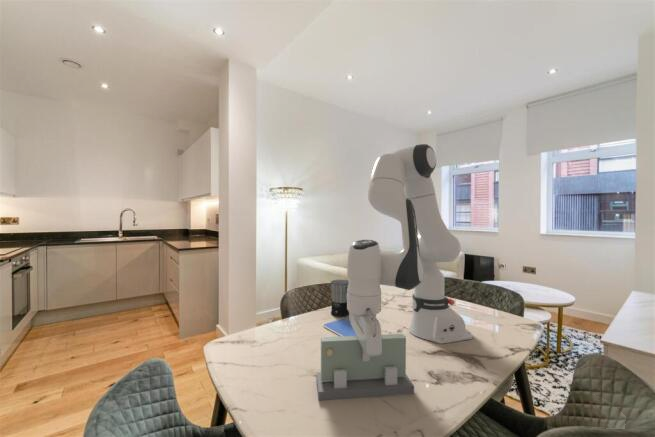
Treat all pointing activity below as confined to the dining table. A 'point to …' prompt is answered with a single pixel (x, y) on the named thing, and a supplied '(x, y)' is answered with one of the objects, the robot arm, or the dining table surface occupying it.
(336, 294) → the milk frother
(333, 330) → the tablet computer
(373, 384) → the hinge base
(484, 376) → the dining table surface
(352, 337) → the cabinet door
